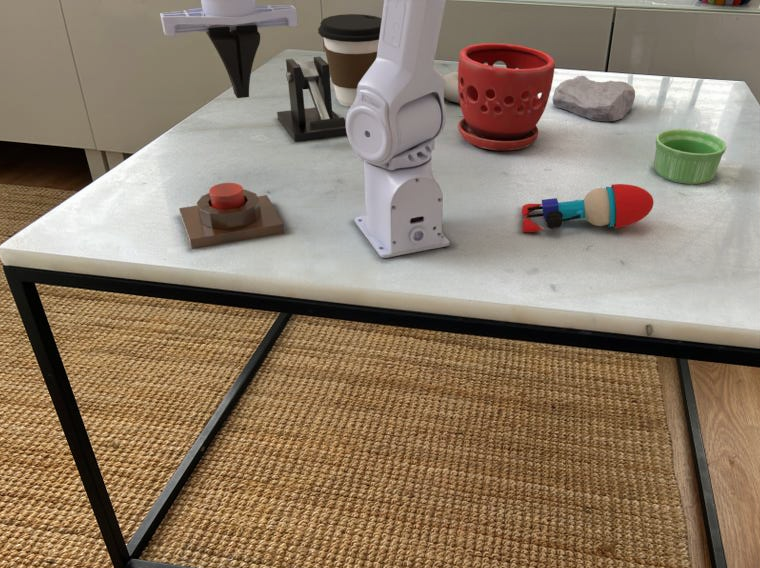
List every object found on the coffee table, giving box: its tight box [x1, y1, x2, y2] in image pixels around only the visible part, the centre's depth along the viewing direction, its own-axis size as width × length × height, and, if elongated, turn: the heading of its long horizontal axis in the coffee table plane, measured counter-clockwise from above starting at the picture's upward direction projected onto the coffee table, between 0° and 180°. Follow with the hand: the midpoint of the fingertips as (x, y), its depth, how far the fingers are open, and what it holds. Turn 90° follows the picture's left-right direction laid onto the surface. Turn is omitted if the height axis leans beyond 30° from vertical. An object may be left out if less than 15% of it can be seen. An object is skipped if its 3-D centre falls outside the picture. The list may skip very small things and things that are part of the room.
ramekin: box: [653, 128, 727, 185], centre depth 96 cm, size 9×9×4 cm
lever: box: [297, 60, 346, 131], centre depth 100 cm, size 11×5×2 cm, turn 24°
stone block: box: [552, 75, 636, 123], centre depth 116 cm, size 12×5×10 cm
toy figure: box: [521, 183, 655, 233], centre depth 83 cm, size 8×5×15 cm
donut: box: [443, 70, 460, 105], centre depth 118 cm, size 10×4×10 cm
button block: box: [178, 188, 286, 250], centre depth 80 cm, size 10×8×3 cm
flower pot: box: [457, 42, 556, 152], centre depth 101 cm, size 13×13×12 cm
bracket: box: [276, 56, 348, 143], centre depth 103 cm, size 10×8×9 cm
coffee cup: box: [317, 13, 382, 108], centre depth 112 cm, size 11×11×12 cm
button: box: [208, 182, 245, 210], centre depth 79 cm, size 4×4×2 cm
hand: (241, 95), depth 85 cm, fingers closed
